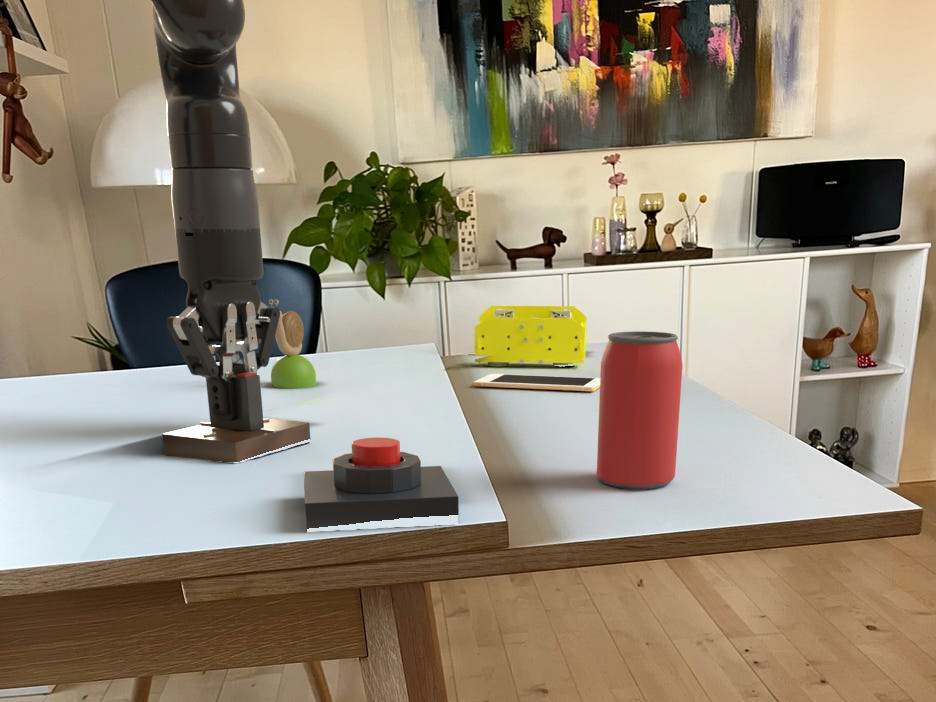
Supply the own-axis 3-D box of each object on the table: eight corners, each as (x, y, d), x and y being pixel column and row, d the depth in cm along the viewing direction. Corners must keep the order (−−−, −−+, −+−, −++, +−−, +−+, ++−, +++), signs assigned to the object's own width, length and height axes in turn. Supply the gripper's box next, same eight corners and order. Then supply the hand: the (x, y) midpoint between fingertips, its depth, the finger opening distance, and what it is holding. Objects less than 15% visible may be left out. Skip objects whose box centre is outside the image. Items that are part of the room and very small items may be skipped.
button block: (306, 533, 75) (302, 478, 73) (305, 498, 84) (302, 448, 82) (458, 525, 76) (458, 471, 75) (441, 492, 85) (440, 443, 84)
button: (353, 471, 77) (352, 447, 76) (351, 461, 80) (350, 438, 79) (402, 469, 77) (401, 446, 77) (398, 459, 81) (397, 436, 80)
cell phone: (491, 378, 143) (490, 373, 143) (606, 383, 138) (606, 378, 138) (472, 386, 136) (472, 381, 136) (593, 391, 132) (593, 386, 131)
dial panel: (238, 464, 95) (235, 441, 94) (163, 454, 99) (160, 431, 98) (311, 442, 104) (310, 421, 103) (240, 434, 108) (238, 413, 107)
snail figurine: (260, 403, 126) (251, 299, 121) (285, 395, 131) (278, 295, 127) (301, 405, 124) (293, 300, 120) (325, 397, 130) (318, 296, 125)
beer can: (620, 494, 84) (627, 341, 80) (582, 476, 90) (587, 332, 85) (689, 486, 87) (700, 337, 82) (649, 470, 92) (657, 329, 88)
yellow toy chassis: (585, 364, 157) (587, 305, 154) (583, 369, 152) (585, 309, 149) (480, 362, 159) (479, 305, 156) (474, 367, 154) (474, 308, 151)
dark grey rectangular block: (210, 427, 101) (204, 371, 99) (224, 423, 103) (219, 369, 101) (250, 431, 99) (245, 375, 97) (264, 428, 101) (259, 372, 99)
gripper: (236, 223, 101) (251, 403, 108) (129, 225, 90) (154, 426, 97) (298, 223, 98) (310, 409, 105) (195, 225, 87) (216, 434, 93)
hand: (235, 417), depth 101 cm, fingers closed on dark grey rectangular block, 2 cm apart
